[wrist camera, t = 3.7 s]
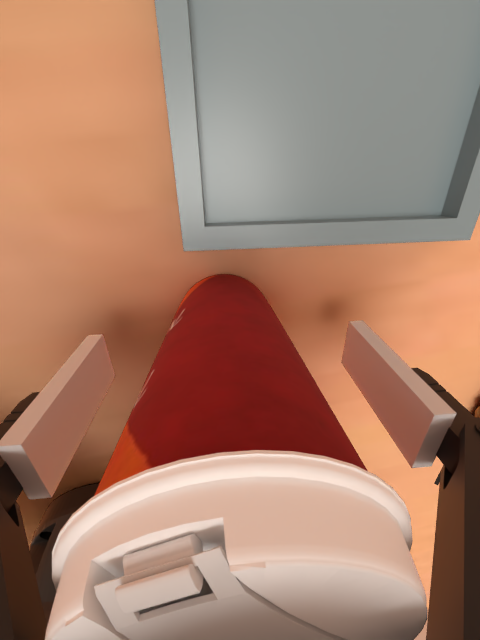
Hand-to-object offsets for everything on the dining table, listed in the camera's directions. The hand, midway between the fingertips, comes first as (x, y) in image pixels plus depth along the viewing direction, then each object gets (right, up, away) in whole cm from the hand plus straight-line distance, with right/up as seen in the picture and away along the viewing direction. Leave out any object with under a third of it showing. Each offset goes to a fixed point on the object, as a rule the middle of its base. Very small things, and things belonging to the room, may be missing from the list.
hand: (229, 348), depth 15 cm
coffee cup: (0, +2, +4) cm, 4 cm away
